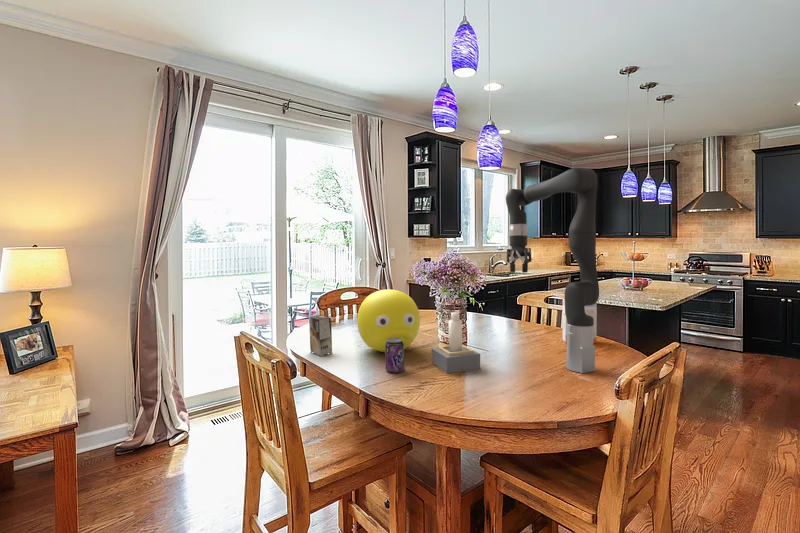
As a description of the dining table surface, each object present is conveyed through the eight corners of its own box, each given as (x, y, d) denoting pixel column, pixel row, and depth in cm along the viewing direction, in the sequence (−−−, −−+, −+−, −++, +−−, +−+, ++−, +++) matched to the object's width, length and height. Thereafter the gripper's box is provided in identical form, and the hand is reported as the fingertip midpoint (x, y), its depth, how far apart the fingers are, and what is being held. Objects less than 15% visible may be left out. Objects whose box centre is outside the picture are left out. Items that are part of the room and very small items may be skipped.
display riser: (480, 369, 161) (480, 351, 161) (446, 373, 157) (446, 355, 156) (463, 359, 174) (463, 342, 174) (432, 362, 170) (431, 345, 170)
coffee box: (333, 353, 185) (332, 317, 184) (320, 356, 181) (319, 319, 180) (322, 349, 192) (321, 314, 191) (309, 352, 188) (308, 316, 187)
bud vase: (464, 351, 164) (464, 313, 163) (452, 353, 162) (452, 314, 161) (458, 348, 169) (458, 311, 168) (446, 349, 167) (446, 312, 166)
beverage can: (388, 374, 157) (387, 342, 156) (383, 368, 163) (383, 338, 162) (406, 372, 158) (406, 341, 158) (401, 367, 165) (400, 337, 164)
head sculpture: (365, 363, 171) (363, 295, 169) (353, 345, 198) (351, 287, 196) (429, 356, 179) (428, 292, 177) (409, 341, 206) (408, 284, 204)
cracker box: (592, 340, 201) (593, 297, 200) (596, 344, 195) (597, 299, 194) (561, 340, 203) (562, 297, 201) (565, 343, 197) (566, 299, 195)
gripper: (501, 236, 189) (501, 272, 189) (521, 233, 176) (521, 272, 176) (515, 236, 192) (515, 272, 192) (536, 234, 179) (536, 272, 179)
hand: (518, 272), depth 184 cm, fingers open, 8 cm apart
